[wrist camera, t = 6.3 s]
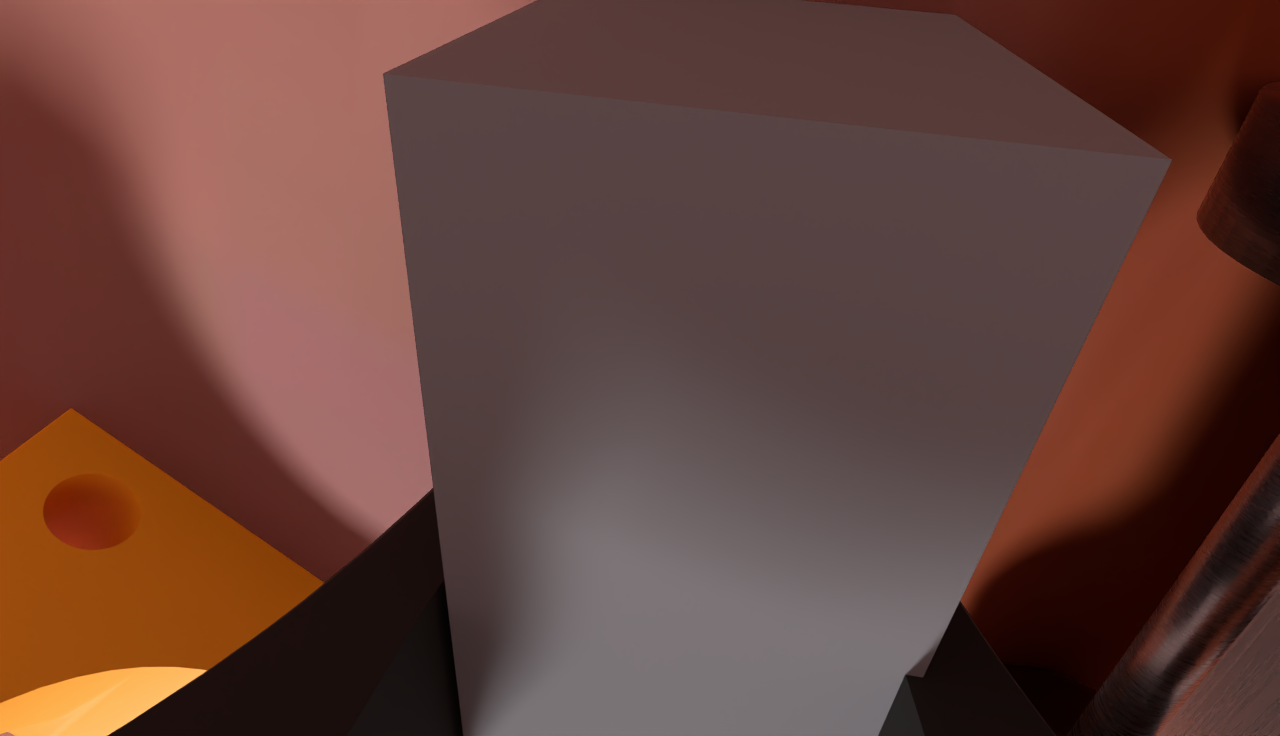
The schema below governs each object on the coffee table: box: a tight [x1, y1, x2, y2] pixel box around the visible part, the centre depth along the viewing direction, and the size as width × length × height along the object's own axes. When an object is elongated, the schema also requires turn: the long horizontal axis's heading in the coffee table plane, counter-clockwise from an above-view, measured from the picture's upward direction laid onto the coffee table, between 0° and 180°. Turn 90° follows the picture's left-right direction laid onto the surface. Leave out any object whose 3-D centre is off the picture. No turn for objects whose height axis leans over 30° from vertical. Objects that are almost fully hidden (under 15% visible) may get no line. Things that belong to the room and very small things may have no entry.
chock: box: [383, 0, 1172, 736], centre depth 9 cm, size 4×11×5 cm, turn 176°
